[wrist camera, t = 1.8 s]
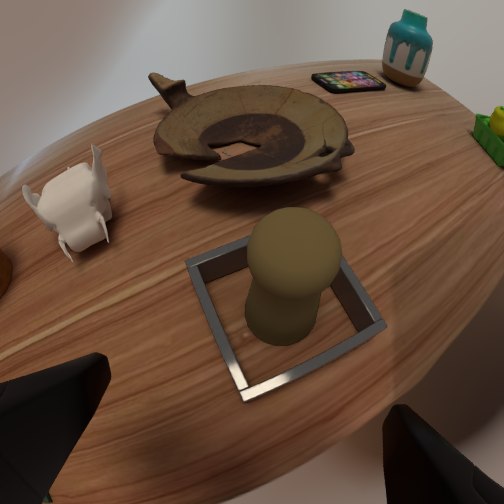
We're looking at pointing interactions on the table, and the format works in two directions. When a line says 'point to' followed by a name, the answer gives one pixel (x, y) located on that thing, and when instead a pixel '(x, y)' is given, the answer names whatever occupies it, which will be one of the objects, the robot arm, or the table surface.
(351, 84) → the smartphone
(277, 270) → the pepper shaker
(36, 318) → the table surface
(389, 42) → the vase
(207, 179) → the brown shallow dish
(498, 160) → the fruit basket
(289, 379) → the holder
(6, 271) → the disposable coffee cup
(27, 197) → the elephant figurine
